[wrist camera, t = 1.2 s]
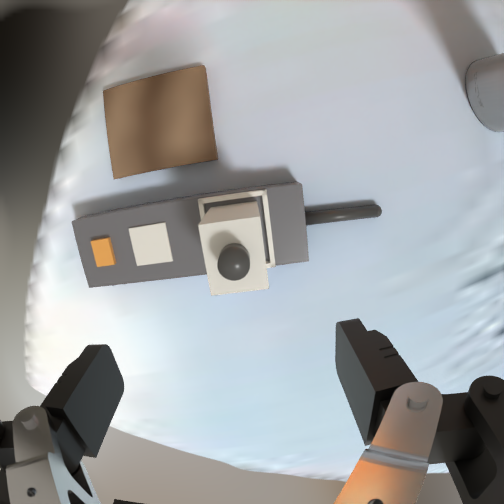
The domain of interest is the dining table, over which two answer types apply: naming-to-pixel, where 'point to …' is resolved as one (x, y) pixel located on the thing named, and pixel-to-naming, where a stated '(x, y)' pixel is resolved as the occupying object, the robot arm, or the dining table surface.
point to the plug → (234, 248)
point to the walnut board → (160, 122)
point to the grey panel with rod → (194, 233)
